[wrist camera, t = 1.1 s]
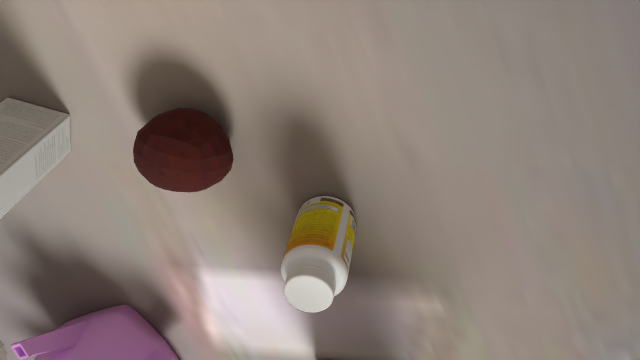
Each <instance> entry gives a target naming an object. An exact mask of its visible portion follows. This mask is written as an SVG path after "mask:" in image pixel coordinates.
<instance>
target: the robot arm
mask: <svg viewBox="0 0 640 360" xmlns="http://www.w3.org/2000/svg"><path fill="white" fill-rule="evenodd" d="M0 360H6V350H5V347H4V344H3V343H2V342H1V341H0Z"/></svg>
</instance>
